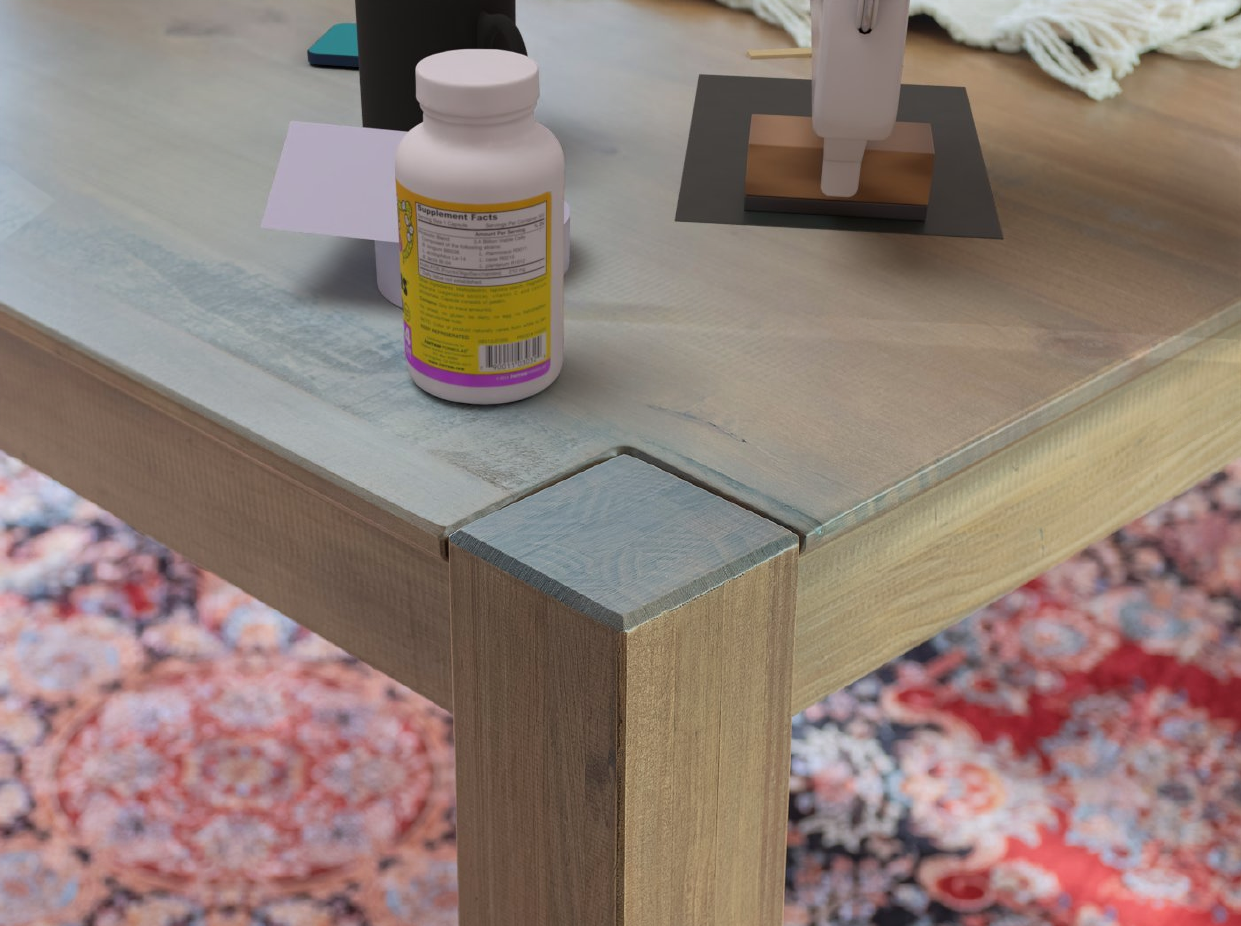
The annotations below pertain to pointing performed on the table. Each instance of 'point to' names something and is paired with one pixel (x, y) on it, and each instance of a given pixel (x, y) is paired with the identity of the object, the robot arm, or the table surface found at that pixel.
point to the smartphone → (336, 47)
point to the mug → (420, 48)
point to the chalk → (779, 53)
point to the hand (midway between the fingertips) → (837, 170)
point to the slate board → (731, 101)
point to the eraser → (793, 167)
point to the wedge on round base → (347, 192)
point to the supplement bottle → (481, 231)
